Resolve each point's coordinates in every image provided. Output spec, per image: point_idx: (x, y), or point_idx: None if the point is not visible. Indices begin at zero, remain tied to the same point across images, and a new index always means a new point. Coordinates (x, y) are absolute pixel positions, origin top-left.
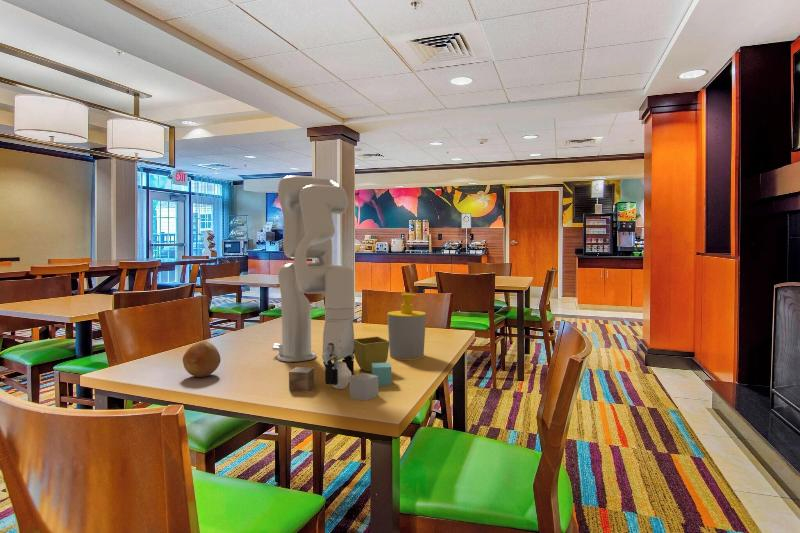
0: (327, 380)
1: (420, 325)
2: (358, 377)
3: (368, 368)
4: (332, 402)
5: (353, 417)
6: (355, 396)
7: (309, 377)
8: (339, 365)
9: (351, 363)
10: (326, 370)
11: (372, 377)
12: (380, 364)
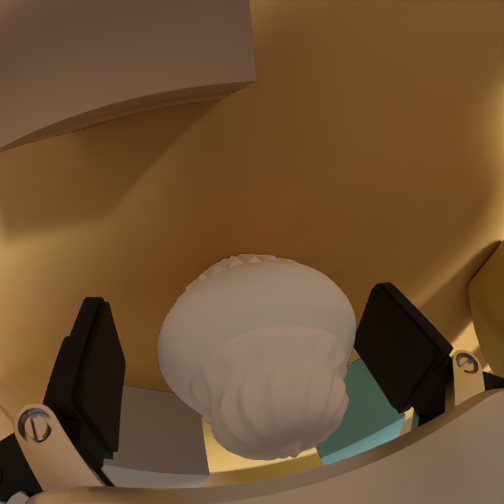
0: (67, 339)
1: None
2: (128, 477)
3: (472, 301)
4: (22, 346)
5: (4, 411)
6: None
7: (64, 127)
8: (225, 447)
9: (388, 396)
10: (59, 391)
11: None
12: (375, 442)
